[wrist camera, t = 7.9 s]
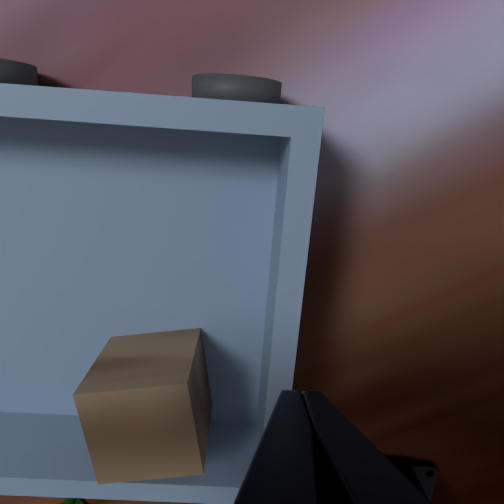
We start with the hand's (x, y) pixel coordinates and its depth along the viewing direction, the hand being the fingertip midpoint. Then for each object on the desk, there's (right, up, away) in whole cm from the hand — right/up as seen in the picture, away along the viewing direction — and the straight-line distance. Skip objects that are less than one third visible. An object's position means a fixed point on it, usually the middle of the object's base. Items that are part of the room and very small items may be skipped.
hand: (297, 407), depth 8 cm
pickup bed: (-7, +2, +12) cm, 14 cm away
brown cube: (-6, -3, +12) cm, 13 cm away
